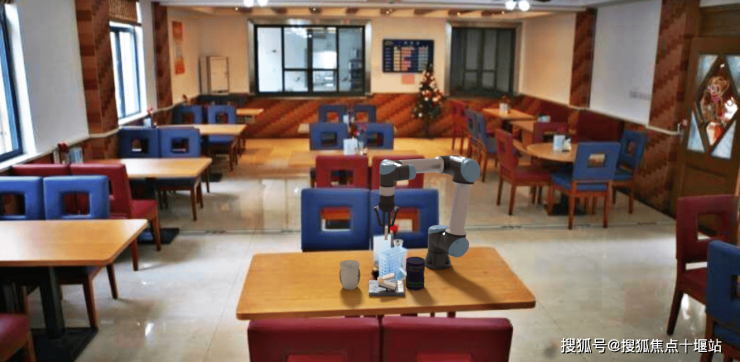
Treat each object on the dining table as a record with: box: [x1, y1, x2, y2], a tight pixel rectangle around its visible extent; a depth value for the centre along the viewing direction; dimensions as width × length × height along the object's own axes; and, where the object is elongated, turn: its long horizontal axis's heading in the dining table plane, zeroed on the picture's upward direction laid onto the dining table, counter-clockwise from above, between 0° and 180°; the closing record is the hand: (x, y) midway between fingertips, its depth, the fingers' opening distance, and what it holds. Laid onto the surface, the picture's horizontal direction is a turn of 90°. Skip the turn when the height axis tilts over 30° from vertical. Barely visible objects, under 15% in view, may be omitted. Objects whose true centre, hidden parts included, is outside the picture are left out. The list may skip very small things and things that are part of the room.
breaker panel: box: [368, 279, 406, 297], centre depth 295 cm, size 18×15×4 cm
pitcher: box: [338, 259, 361, 291], centre depth 298 cm, size 11×18×14 cm, turn 1°
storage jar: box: [405, 256, 426, 292], centre depth 298 cm, size 10×10×15 cm
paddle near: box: [377, 278, 396, 290], centre depth 291 cm, size 9×4×2 cm, turn 91°
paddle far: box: [377, 272, 396, 281], centre depth 298 cm, size 9×4×2 cm, turn 89°
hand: (386, 239), depth 289 cm, fingers closed
